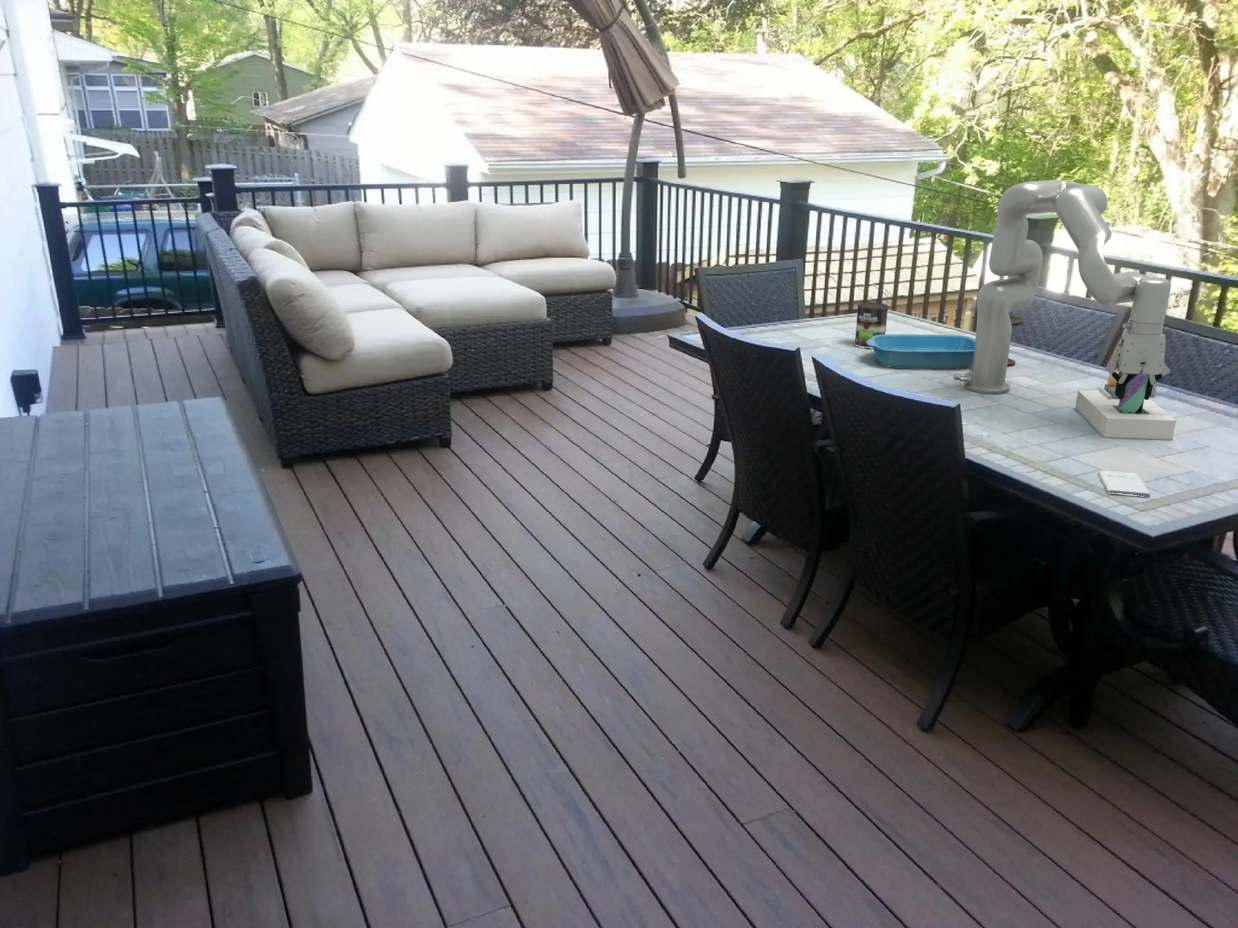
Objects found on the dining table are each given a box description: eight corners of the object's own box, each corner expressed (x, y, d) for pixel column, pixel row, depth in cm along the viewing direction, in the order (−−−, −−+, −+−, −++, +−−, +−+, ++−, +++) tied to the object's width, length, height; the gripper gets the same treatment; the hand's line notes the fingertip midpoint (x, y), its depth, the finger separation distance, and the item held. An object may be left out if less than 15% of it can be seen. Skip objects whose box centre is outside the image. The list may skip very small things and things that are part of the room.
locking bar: (1112, 398, 255) (1115, 379, 253) (1103, 391, 261) (1107, 372, 260) (1124, 398, 254) (1127, 379, 253) (1115, 391, 261) (1118, 373, 259)
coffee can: (878, 350, 327) (882, 309, 322) (849, 346, 332) (852, 306, 327) (889, 344, 335) (893, 304, 330) (861, 341, 340) (864, 301, 335)
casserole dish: (869, 370, 304) (871, 348, 301) (861, 353, 325) (862, 332, 322) (990, 372, 300) (993, 350, 298) (973, 355, 321) (976, 334, 318)
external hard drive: (1107, 496, 207) (1097, 476, 218) (1149, 500, 205) (1137, 479, 216) (1108, 489, 207) (1098, 469, 218) (1150, 493, 205) (1138, 472, 216)
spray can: (1111, 418, 250) (1125, 343, 242) (1131, 418, 250) (1146, 342, 243) (1123, 425, 244) (1138, 348, 237) (1144, 424, 245) (1159, 348, 238)
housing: (1104, 437, 241) (1108, 414, 239) (1075, 407, 265) (1078, 386, 262) (1172, 439, 239) (1177, 416, 237) (1137, 409, 262) (1141, 388, 260)
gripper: (1113, 330, 236) (1100, 401, 243) (1188, 332, 234) (1173, 403, 240) (1103, 324, 243) (1091, 392, 250) (1176, 325, 241) (1162, 395, 247)
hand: (1132, 397), depth 245 cm, fingers closed on spray can, 5 cm apart
